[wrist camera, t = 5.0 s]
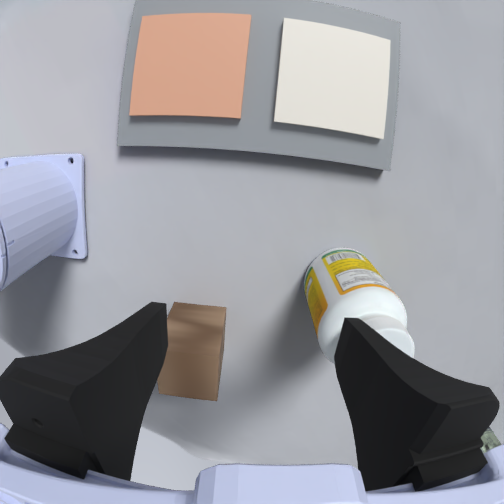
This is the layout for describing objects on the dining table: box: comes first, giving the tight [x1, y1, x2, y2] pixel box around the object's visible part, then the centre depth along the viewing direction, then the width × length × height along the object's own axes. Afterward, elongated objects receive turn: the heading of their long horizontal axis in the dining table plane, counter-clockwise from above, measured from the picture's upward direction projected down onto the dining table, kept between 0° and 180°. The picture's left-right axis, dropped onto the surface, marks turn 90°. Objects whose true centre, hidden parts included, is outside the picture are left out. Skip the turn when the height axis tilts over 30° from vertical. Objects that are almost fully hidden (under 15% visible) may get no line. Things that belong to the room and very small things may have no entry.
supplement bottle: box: [304, 248, 415, 364], centre depth 19 cm, size 5×5×10 cm
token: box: [157, 302, 226, 401], centre depth 22 cm, size 4×4×6 cm
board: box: [117, 0, 400, 171], centre depth 17 cm, size 18×11×2 cm, turn 85°
